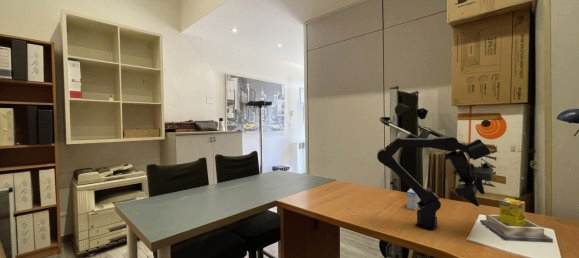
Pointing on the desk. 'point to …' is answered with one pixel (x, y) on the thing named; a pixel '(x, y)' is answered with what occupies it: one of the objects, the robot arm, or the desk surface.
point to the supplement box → (512, 212)
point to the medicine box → (412, 199)
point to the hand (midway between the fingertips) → (480, 199)
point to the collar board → (516, 230)
